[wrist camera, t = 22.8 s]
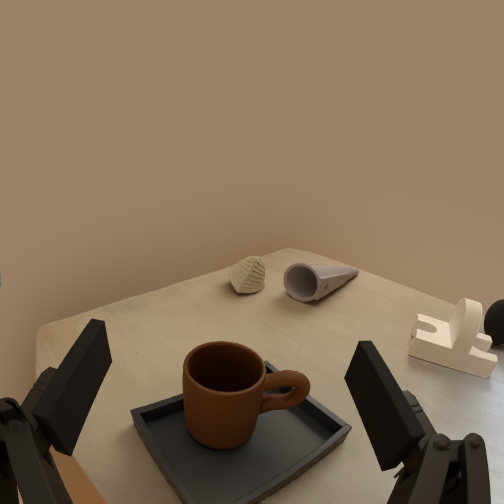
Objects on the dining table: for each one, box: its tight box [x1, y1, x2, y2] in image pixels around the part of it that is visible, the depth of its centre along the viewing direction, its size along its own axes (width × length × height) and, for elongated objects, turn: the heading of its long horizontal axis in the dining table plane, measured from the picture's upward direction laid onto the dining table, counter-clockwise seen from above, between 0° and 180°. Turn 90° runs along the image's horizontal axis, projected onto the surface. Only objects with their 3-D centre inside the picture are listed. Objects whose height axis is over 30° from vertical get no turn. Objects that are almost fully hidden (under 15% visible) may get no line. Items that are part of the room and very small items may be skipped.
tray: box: [130, 360, 352, 504], centre depth 26 cm, size 15×19×3 cm
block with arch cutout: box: [408, 298, 498, 378], centre depth 40 cm, size 18×10×11 cm, turn 58°
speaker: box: [484, 300, 504, 344], centre depth 43 cm, size 10×10×10 cm
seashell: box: [229, 256, 265, 293], centre depth 61 cm, size 8×8×8 cm
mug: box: [183, 341, 310, 450], centre depth 26 cm, size 12×8×9 cm, turn 89°
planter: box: [284, 263, 359, 302], centre depth 67 cm, size 8×9×26 cm
